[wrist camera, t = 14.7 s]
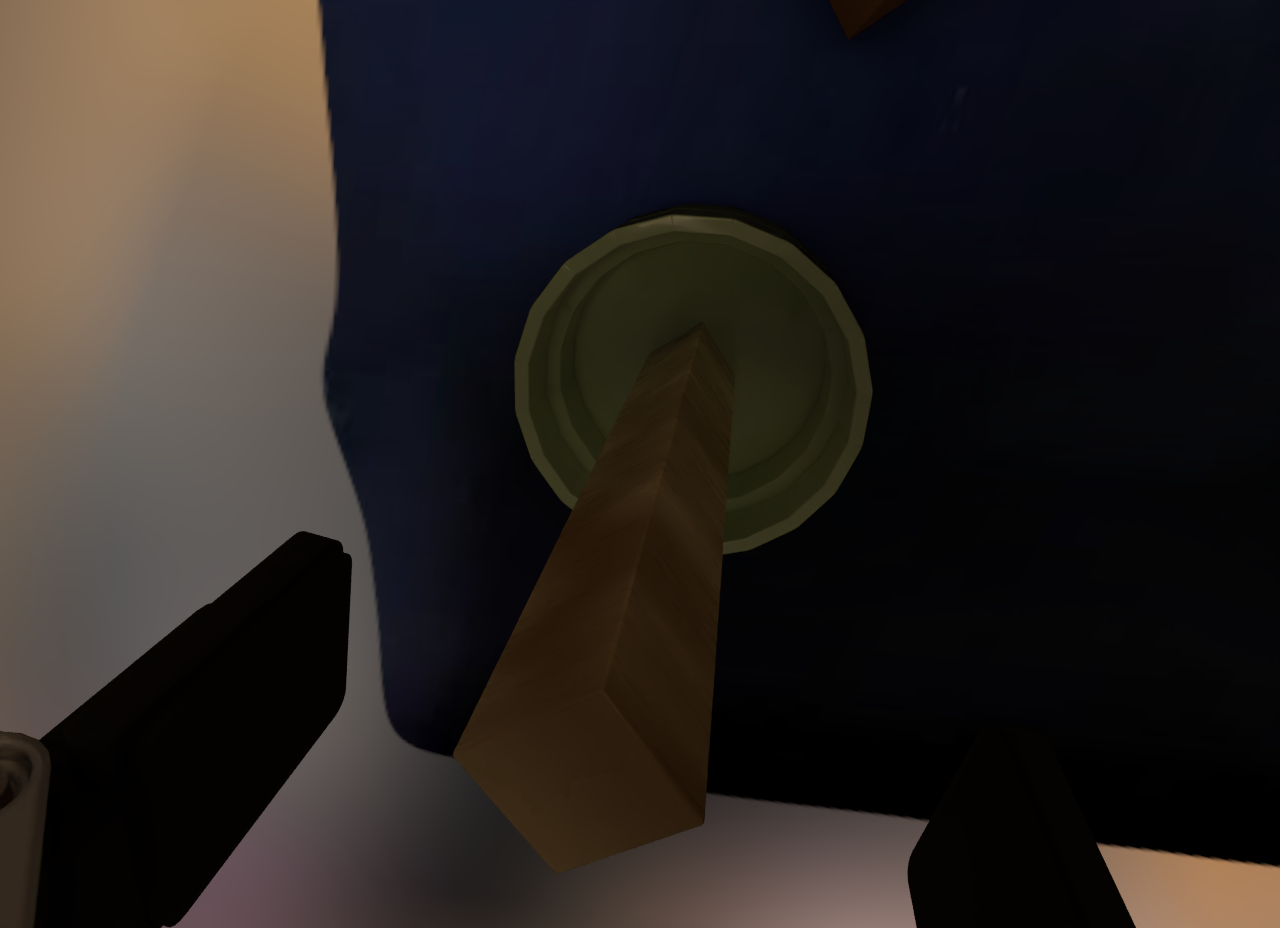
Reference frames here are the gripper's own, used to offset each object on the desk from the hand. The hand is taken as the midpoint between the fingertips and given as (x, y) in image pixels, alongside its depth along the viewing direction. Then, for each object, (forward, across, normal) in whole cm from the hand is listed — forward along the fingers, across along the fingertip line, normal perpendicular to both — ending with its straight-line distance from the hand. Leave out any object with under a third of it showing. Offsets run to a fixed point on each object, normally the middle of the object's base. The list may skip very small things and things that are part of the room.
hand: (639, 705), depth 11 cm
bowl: (+19, +1, 0) cm, 19 cm away
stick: (+18, +1, 0) cm, 18 cm away
